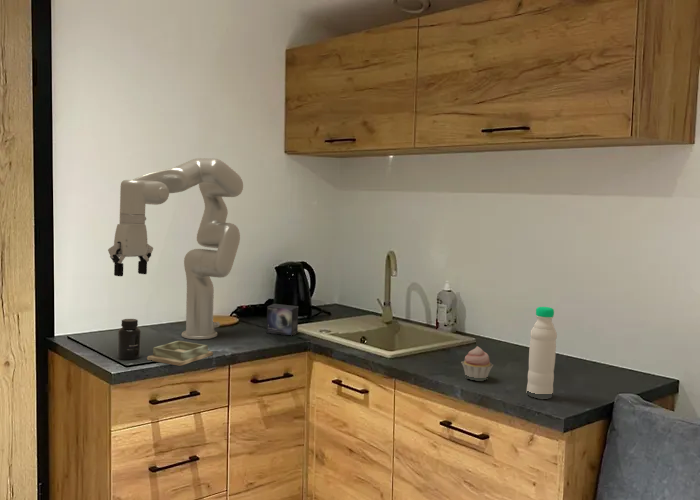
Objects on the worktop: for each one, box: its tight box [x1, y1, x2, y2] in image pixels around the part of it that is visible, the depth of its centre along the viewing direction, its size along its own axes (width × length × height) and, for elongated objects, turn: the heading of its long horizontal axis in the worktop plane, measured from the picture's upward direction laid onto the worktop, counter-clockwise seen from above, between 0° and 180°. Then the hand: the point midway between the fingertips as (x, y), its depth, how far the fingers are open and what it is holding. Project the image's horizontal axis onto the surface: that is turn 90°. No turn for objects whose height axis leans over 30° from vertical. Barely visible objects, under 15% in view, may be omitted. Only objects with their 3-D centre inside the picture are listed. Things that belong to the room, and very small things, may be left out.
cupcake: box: [460, 345, 494, 378], centre depth 204 cm, size 9×9×10 cm
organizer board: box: [146, 340, 214, 367], centre depth 216 cm, size 16×13×4 cm
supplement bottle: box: [117, 318, 142, 361], centre depth 213 cm, size 7×7×12 cm
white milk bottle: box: [526, 306, 558, 394], centre depth 188 cm, size 7×7×25 cm
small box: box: [266, 303, 299, 337], centre depth 255 cm, size 11×6×10 cm, turn 72°
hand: (130, 274), depth 212 cm, fingers open, 9 cm apart
